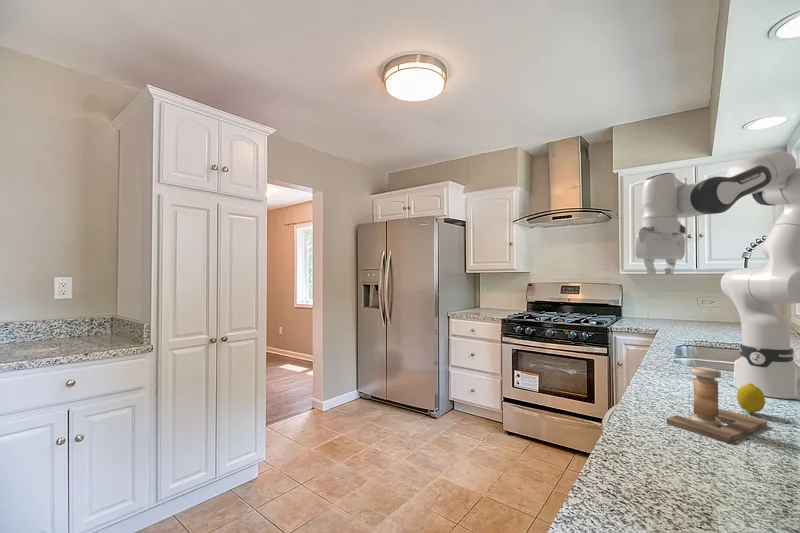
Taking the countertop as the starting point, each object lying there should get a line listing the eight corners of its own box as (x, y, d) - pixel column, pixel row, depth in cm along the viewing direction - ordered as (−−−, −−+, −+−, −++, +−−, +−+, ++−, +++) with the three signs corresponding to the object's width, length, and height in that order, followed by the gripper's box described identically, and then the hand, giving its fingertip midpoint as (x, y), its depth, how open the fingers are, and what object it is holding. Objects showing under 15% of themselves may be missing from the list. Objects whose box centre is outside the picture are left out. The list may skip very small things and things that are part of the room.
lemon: (759, 419, 99) (759, 387, 99) (732, 412, 103) (732, 382, 104) (769, 415, 101) (768, 384, 101) (742, 408, 106) (742, 379, 106)
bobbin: (698, 417, 100) (698, 366, 100) (725, 425, 95) (725, 371, 95) (686, 421, 97) (686, 368, 97) (714, 429, 92) (713, 374, 92)
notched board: (706, 409, 105) (706, 405, 105) (766, 426, 94) (766, 421, 94) (666, 423, 95) (666, 418, 95) (728, 443, 85) (728, 437, 85)
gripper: (651, 225, 107) (651, 274, 107) (689, 228, 117) (690, 274, 117) (628, 227, 113) (629, 274, 113) (666, 230, 122) (667, 274, 122)
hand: (660, 274), depth 115 cm, fingers open, 8 cm apart
